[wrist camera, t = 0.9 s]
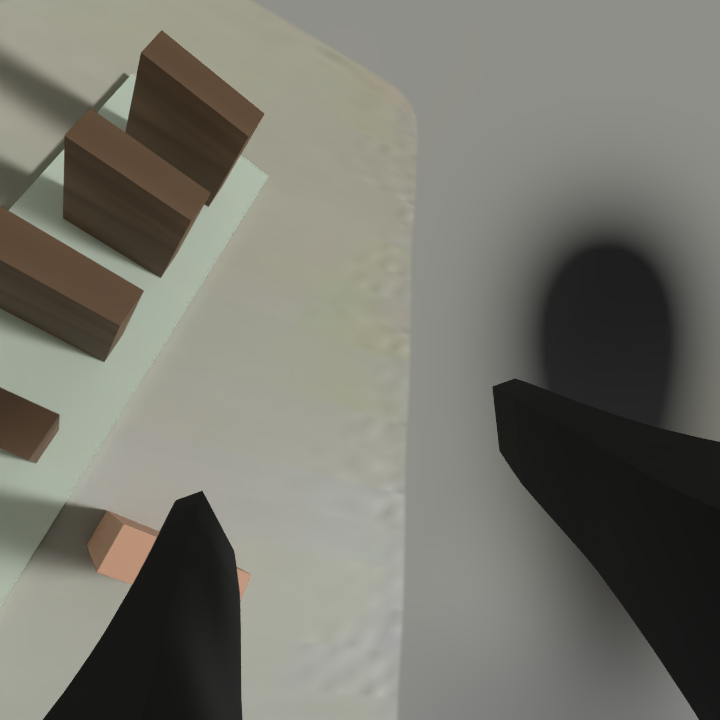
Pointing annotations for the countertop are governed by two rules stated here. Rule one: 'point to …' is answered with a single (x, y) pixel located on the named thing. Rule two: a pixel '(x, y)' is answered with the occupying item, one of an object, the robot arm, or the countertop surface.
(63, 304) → the domino
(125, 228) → the domino
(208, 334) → the countertop surface
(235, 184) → the sage mat
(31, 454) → the domino
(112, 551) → the terracotta domino
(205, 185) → the domino
